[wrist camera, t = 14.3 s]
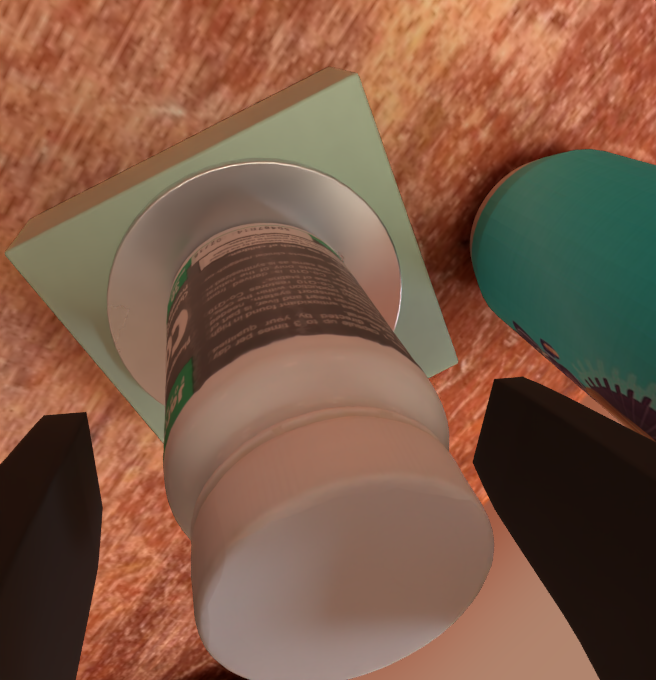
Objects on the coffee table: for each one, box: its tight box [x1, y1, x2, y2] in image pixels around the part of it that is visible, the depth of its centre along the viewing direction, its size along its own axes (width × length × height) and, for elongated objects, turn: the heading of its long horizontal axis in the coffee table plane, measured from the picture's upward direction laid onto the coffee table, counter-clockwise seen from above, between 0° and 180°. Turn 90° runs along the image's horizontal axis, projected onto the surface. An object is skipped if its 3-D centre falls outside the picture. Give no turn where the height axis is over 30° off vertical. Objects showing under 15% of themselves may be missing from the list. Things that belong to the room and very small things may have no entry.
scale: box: [5, 67, 458, 444], centre depth 16 cm, size 9×9×3 cm
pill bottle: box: [163, 223, 494, 680], centre depth 10 cm, size 5×5×8 cm
